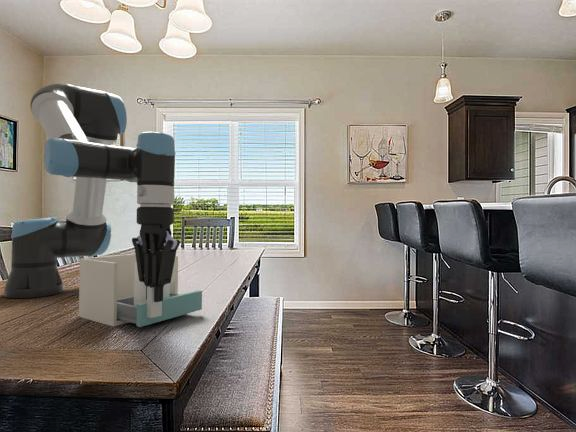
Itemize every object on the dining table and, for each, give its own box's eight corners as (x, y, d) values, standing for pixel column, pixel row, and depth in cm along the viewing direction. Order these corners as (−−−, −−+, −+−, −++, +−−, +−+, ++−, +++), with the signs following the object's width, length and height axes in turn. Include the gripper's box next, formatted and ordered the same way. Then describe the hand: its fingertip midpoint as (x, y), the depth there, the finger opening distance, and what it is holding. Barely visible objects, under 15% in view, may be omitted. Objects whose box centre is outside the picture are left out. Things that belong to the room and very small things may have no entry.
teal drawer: (101, 316, 85) (101, 296, 85) (164, 301, 99) (164, 284, 99) (140, 327, 77) (140, 305, 77) (201, 309, 92) (202, 291, 92)
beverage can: (175, 305, 93) (176, 257, 93) (158, 313, 85) (158, 261, 85) (146, 303, 94) (146, 256, 94) (126, 311, 86) (127, 259, 86)
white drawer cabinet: (79, 316, 89) (79, 258, 89) (143, 302, 104) (144, 252, 104) (113, 326, 82) (114, 263, 82) (177, 309, 97) (178, 256, 97)
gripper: (121, 205, 79) (119, 315, 79) (161, 205, 72) (159, 325, 72) (150, 206, 86) (149, 308, 86) (190, 206, 79) (188, 317, 79)
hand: (154, 316), depth 79 cm, fingers closed
